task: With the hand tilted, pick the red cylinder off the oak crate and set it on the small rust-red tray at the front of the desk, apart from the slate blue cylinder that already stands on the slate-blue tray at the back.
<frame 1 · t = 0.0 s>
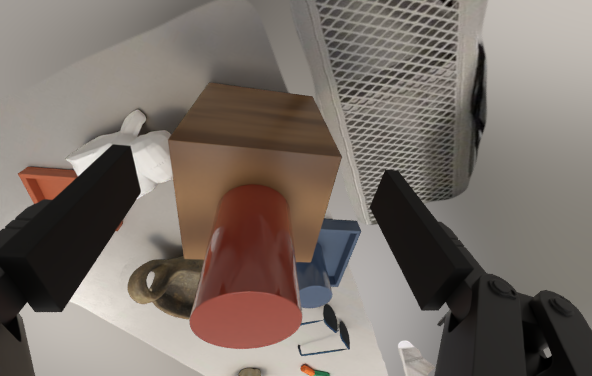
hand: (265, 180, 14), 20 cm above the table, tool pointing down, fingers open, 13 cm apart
crate: (258, 137, 33), on the table
red cylinder: (254, 213, 21), point 15 cm above the table, touching crate
white piece: (146, 146, 33), on the table
blue tray: (305, 249, 47), on the table
slate blue cylinder: (305, 251, 46), resting on blue tray
flower pot: (250, 371, 76), on the table
red tray: (80, 197, 36), on the table
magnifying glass: (314, 370, 81), on the table
sunglasses: (309, 323, 63), on the table
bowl: (192, 263, 47), on the table
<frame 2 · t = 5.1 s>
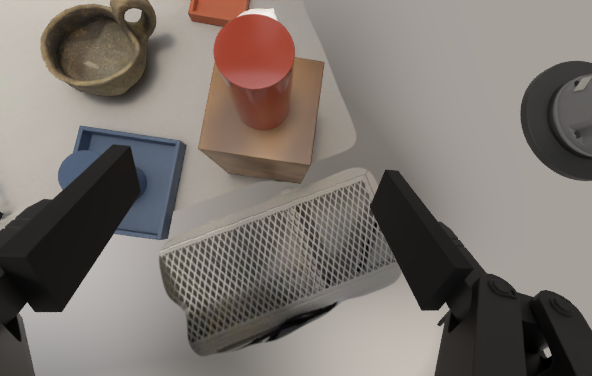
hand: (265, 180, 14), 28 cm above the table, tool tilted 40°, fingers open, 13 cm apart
crate: (269, 143, 43), on the table
red cylinder: (263, 103, 28), point 15 cm above the table, touching crate
blue tray: (129, 183, 41), on the table
slate blue cylinder: (127, 183, 40), resting on blue tray
red tray: (222, 1, 45), on the table
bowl: (125, 63, 43), on the table
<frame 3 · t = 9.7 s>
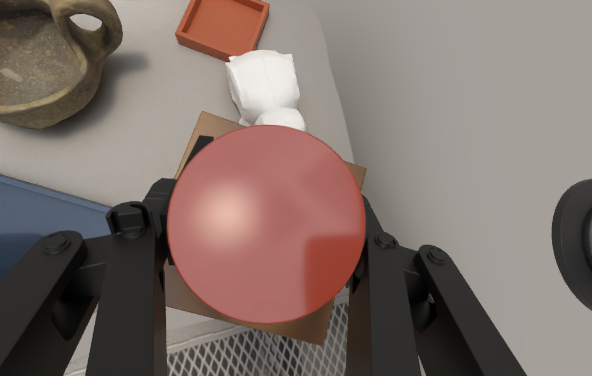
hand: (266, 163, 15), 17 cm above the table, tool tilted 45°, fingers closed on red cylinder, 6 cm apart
crate: (255, 227, 31), on the table
red cylinder: (260, 224, 16), point 15 cm above the table, touching crate, gripper
white piece: (266, 117, 34), on the table
blue tray: (28, 262, 26), on the table
slate blue cylinder: (24, 262, 26), resting on blue tray
red tray: (225, 28, 35), on the table
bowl: (68, 80, 30), on the table
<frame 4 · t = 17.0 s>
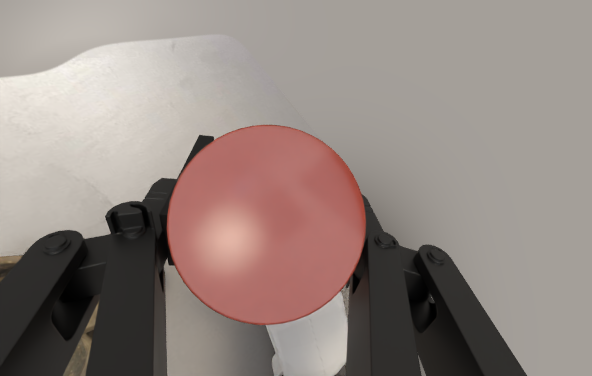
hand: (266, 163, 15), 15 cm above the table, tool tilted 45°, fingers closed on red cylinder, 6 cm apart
red cylinder: (260, 225, 16), point 13 cm above the table, touching gripper
white piece: (304, 330, 29), on the table
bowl: (72, 315, 25), on the table
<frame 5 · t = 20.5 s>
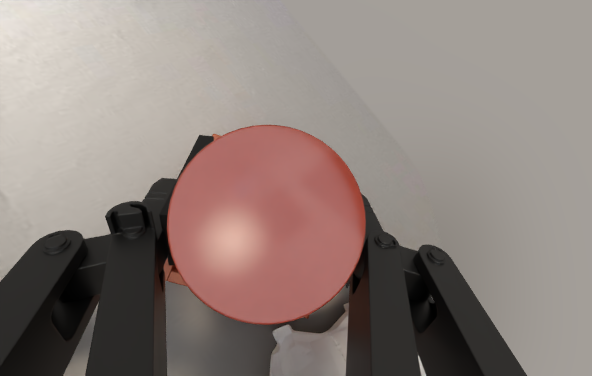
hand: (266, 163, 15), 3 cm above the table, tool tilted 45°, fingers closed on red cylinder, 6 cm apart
red cylinder: (260, 225, 16), point 1 cm above the table, touching gripper
red tray: (258, 224, 18), on the table
when the fingers open (3 cm above the table, at t = 24.6 s): red cylinder stays where it is, resting on red tray.
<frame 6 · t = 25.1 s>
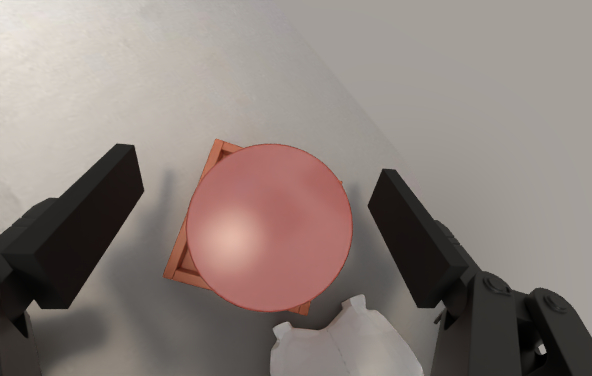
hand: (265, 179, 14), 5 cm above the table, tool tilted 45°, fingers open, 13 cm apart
red cylinder: (262, 227, 18), resting on red tray
red tray: (259, 225, 18), on the table
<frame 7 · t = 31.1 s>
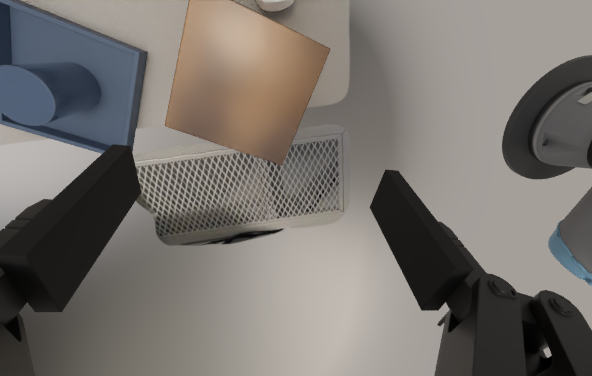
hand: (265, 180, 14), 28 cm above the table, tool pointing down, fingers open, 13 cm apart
crate: (250, 75, 37), on the table
blue tray: (78, 86, 35), on the table
slate blue cylinder: (76, 86, 35), resting on blue tray
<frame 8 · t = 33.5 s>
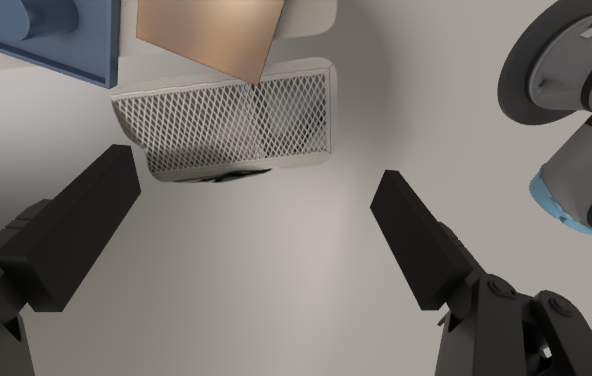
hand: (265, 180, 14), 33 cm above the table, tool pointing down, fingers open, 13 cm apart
blue tray: (55, 7, 34), on the table
slate blue cylinder: (52, 7, 34), resting on blue tray
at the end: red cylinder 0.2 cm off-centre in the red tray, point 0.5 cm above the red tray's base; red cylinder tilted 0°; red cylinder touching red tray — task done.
